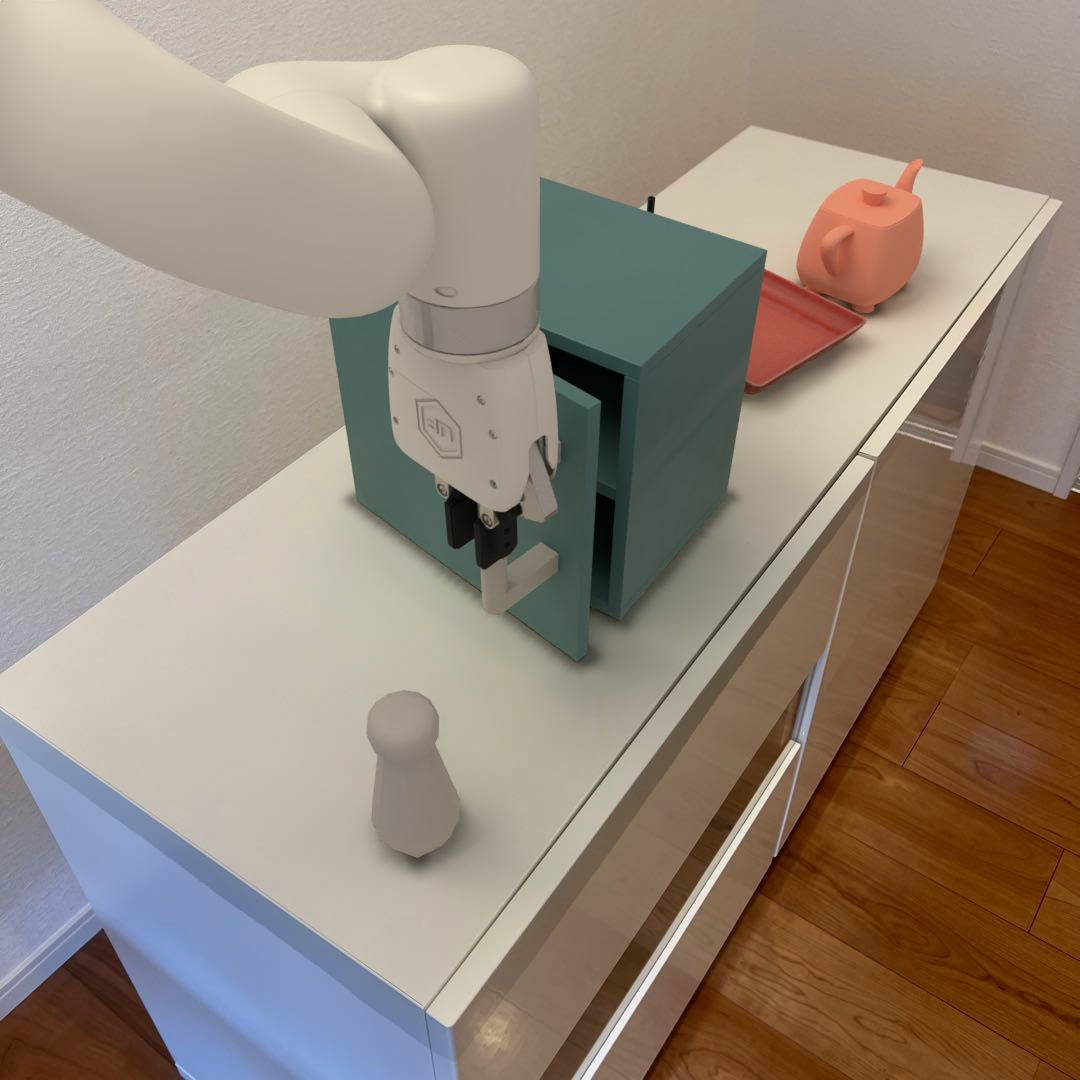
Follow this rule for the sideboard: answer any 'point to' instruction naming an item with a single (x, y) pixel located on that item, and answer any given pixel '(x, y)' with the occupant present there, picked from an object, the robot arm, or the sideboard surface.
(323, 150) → the robot arm
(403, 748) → the salt shaker
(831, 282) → the teapot
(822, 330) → the plant saucer
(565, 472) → the fridge door
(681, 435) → the box
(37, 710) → the sideboard surface
